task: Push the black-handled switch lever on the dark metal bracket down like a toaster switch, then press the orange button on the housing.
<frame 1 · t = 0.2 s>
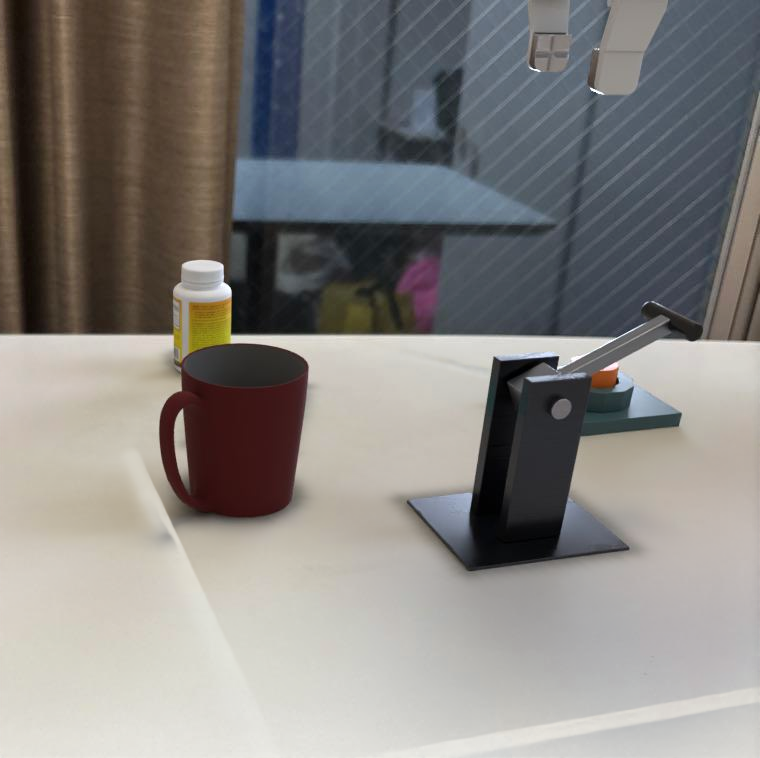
hand: (575, 81, 51), 31 cm above the table, tool pointing down, fingers open, 8 cm apart
switch bracket: (511, 537, 74), on the table
switch lever: (598, 359, 69), point 13 cm above the table, hinge at 25.0°
button: (593, 372, 91), point 5 cm above the table, slide at 0.2 cm
supplement bottle: (201, 370, 103), on the table
button housing: (583, 420, 93), on the table
mug: (225, 514, 77), on the table
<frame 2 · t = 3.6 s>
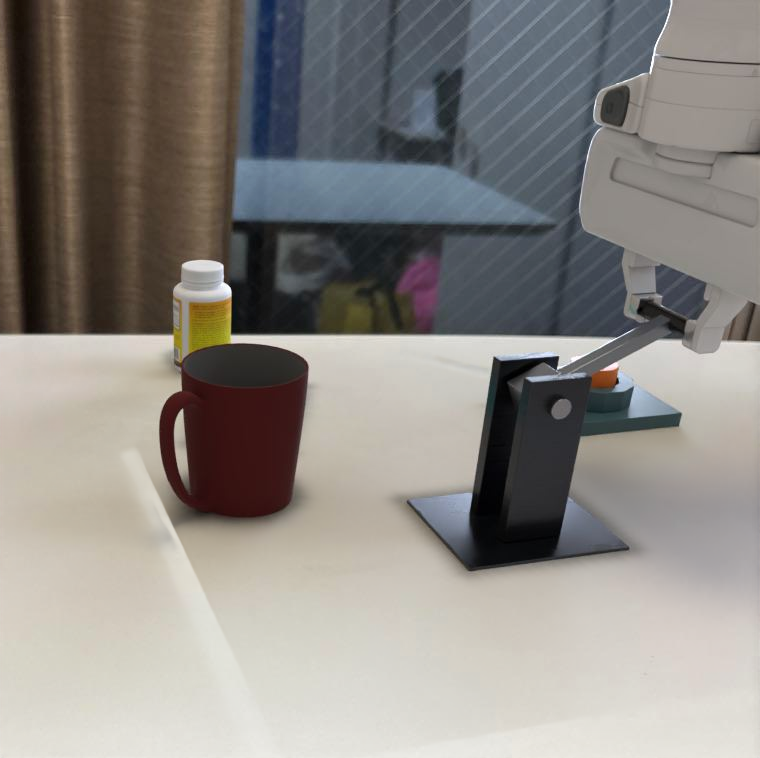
hand: (667, 334, 69), 14 cm above the table, tool pointing down, fingers closed on switch lever, 5 cm apart
switch lever: (598, 359, 69), point 13 cm above the table, hinge at 25.0°, touching gripper
everything else where it was.
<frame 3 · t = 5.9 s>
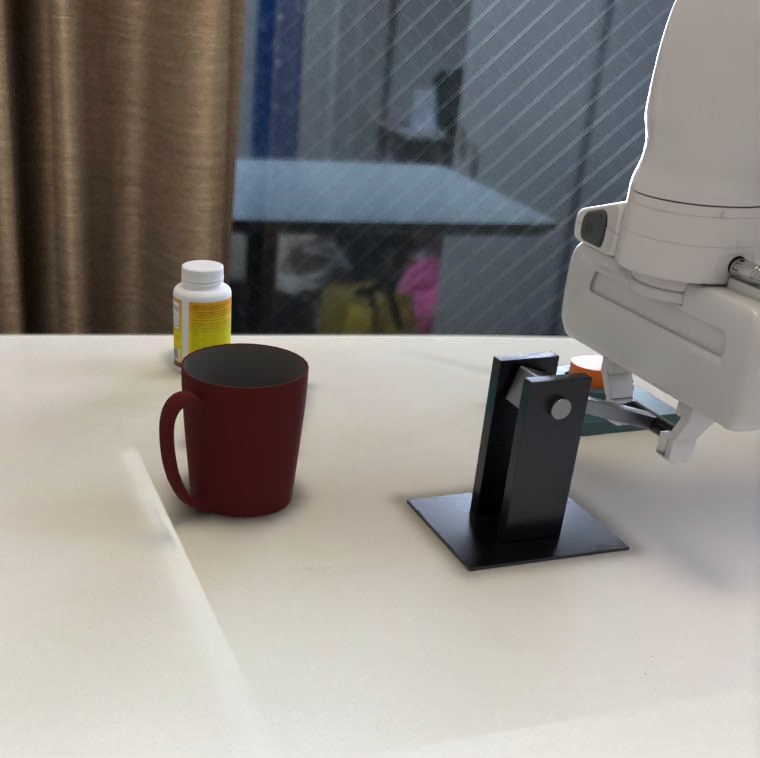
hand: (643, 439, 73), 7 cm above the table, tool pointing down, fingers closed on switch lever, 5 cm apart
switch lever: (592, 406, 70), point 10 cm above the table, hinge at -17.6°, touching gripper
everything else where it was.
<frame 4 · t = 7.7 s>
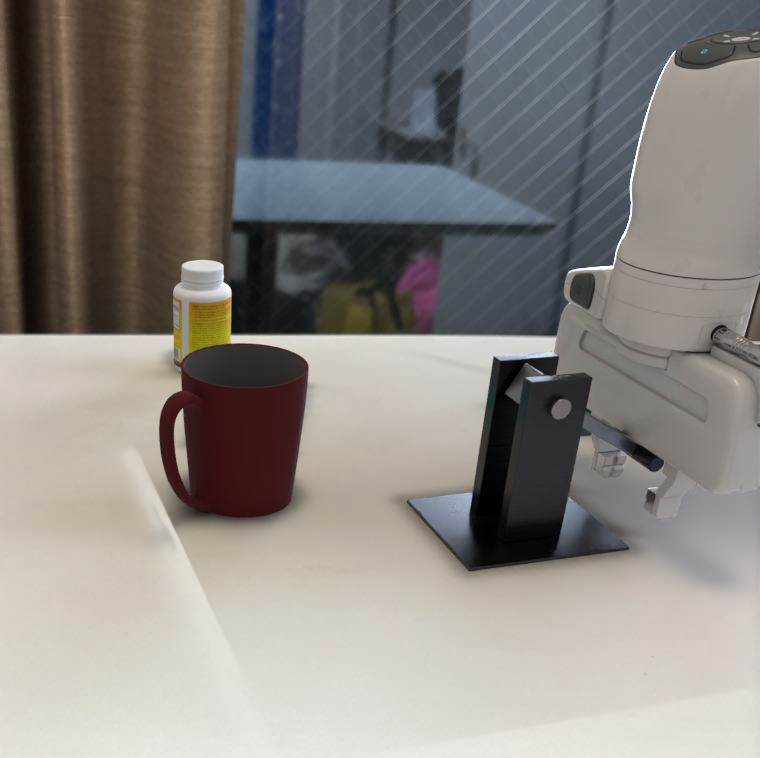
hand: (631, 493, 75), 2 cm above the table, tool pointing down, fingers open, 5 cm apart
switch lever: (583, 419, 71), point 9 cm above the table, hinge at -30.4°
everything else where it was.
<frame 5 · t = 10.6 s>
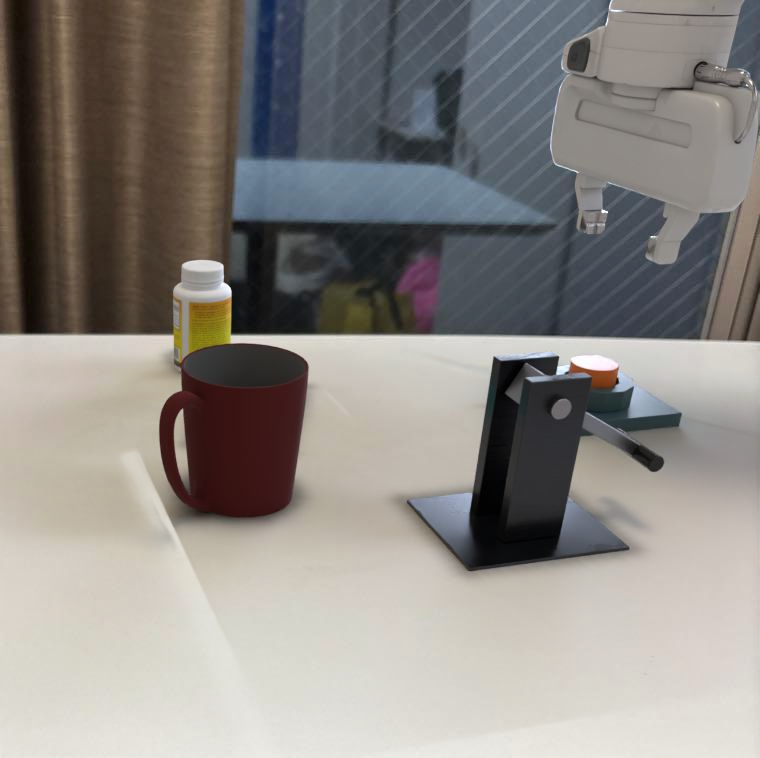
hand: (622, 246, 83), 16 cm above the table, tool pointing down, fingers open, 8 cm apart
nothing on the table moved.
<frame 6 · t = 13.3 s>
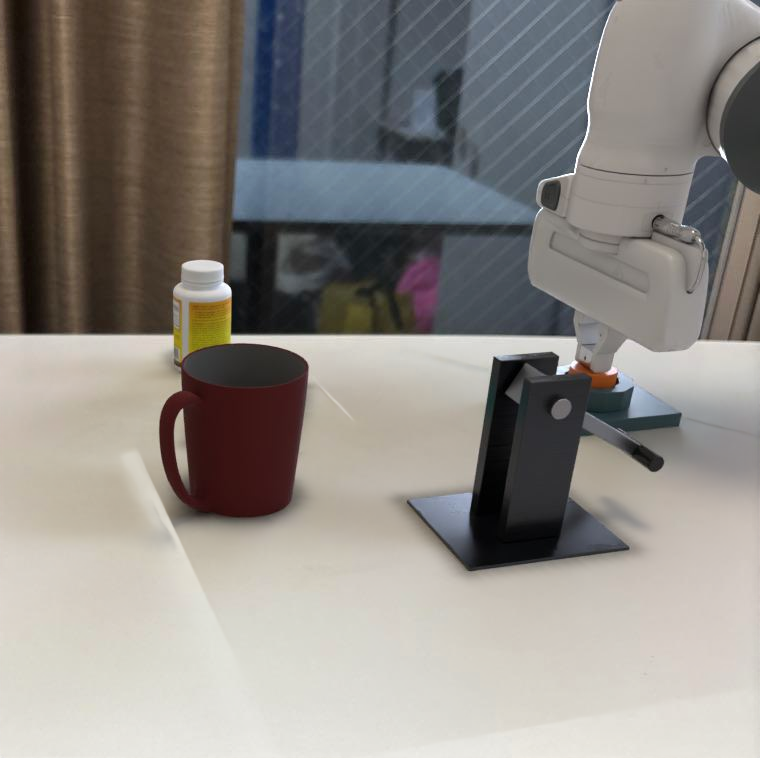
hand: (591, 367, 90), 5 cm above the table, tool pointing down, fingers closed, pressing on button
button: (592, 377, 91), point 4 cm above the table, slide at -0.3 cm, touching gripper
everything else where it was.
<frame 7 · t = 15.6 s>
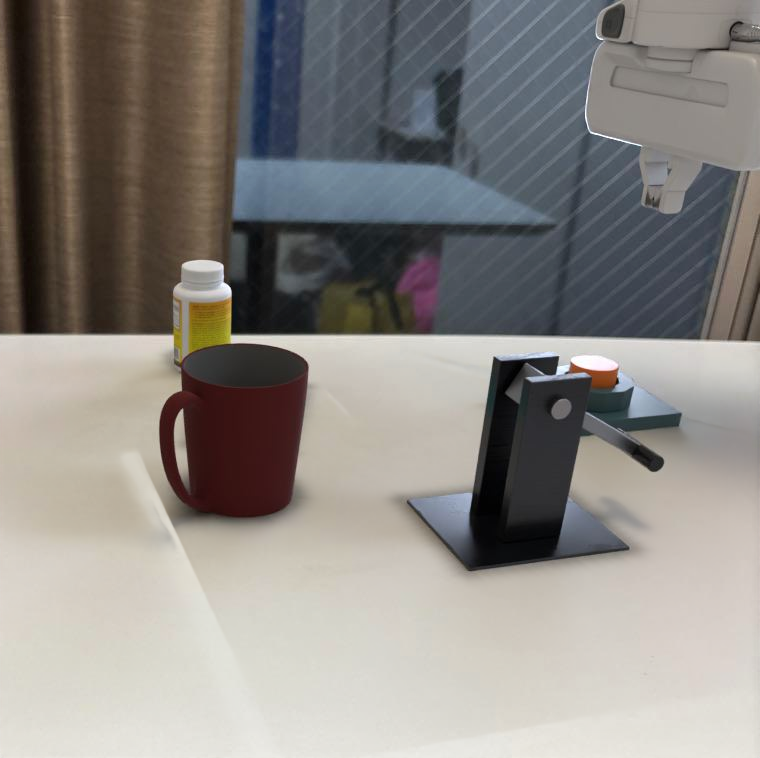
hand: (660, 210, 84), 18 cm above the table, tool pointing down, fingers closed
button: (593, 372, 91), point 5 cm above the table, slide at 0.1 cm
everything else where it was.
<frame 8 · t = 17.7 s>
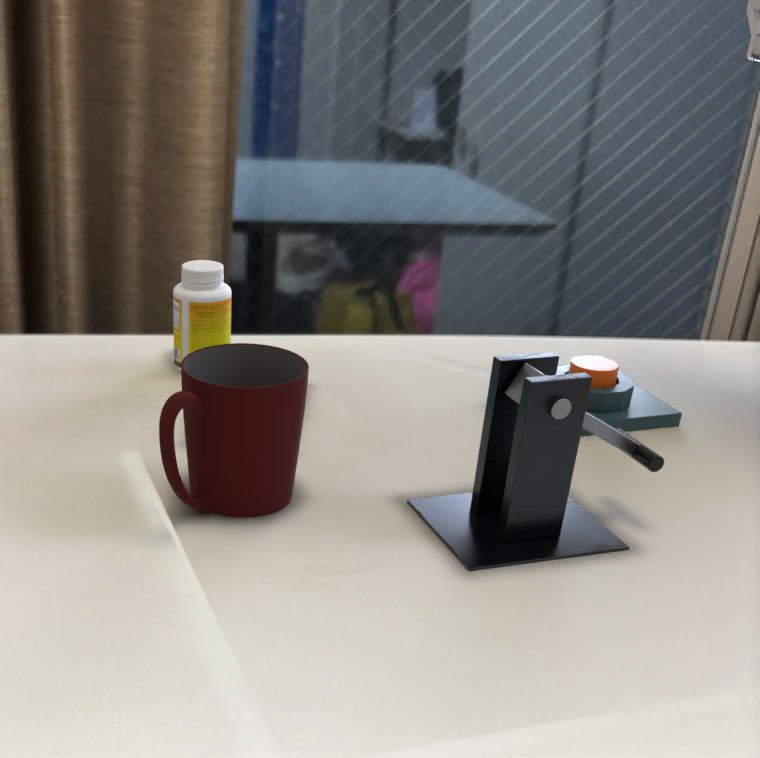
nothing on the table moved.
at the end: switch lever at -30° (first picture: +25°); button pushed in 1.0 cm at the most during the clip, back to where it started at the end; button slide at 0.1 cm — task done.
